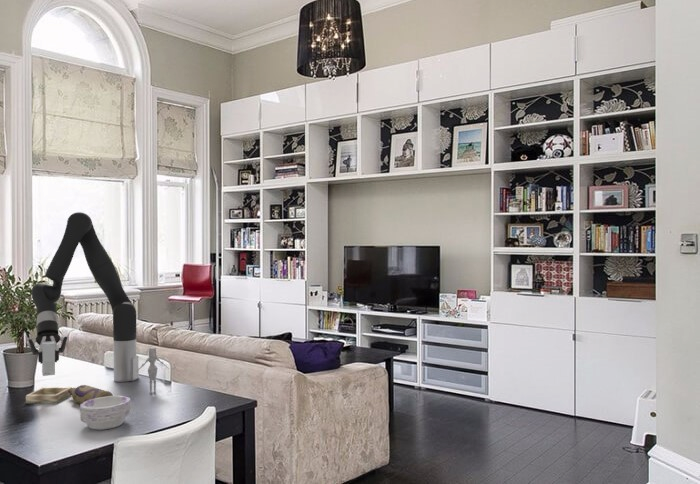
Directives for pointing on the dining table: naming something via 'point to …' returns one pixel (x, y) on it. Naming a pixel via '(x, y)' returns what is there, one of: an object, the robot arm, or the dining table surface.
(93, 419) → the paper bowls
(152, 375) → the human figurine
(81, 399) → the decorative bottle
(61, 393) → the pocket tray
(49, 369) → the skincare box
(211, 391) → the dining table surface
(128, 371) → the robot arm
